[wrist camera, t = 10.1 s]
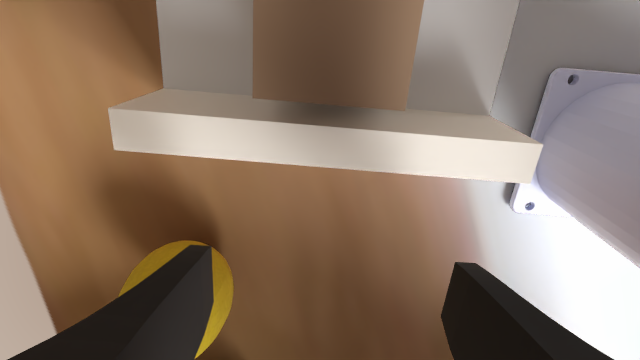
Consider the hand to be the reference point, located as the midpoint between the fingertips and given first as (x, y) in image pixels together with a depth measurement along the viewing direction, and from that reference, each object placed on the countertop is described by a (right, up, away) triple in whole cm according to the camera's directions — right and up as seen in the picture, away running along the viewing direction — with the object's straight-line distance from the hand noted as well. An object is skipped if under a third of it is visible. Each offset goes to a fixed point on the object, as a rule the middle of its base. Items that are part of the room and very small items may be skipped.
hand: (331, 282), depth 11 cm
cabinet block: (0, +10, +4) cm, 11 cm away
